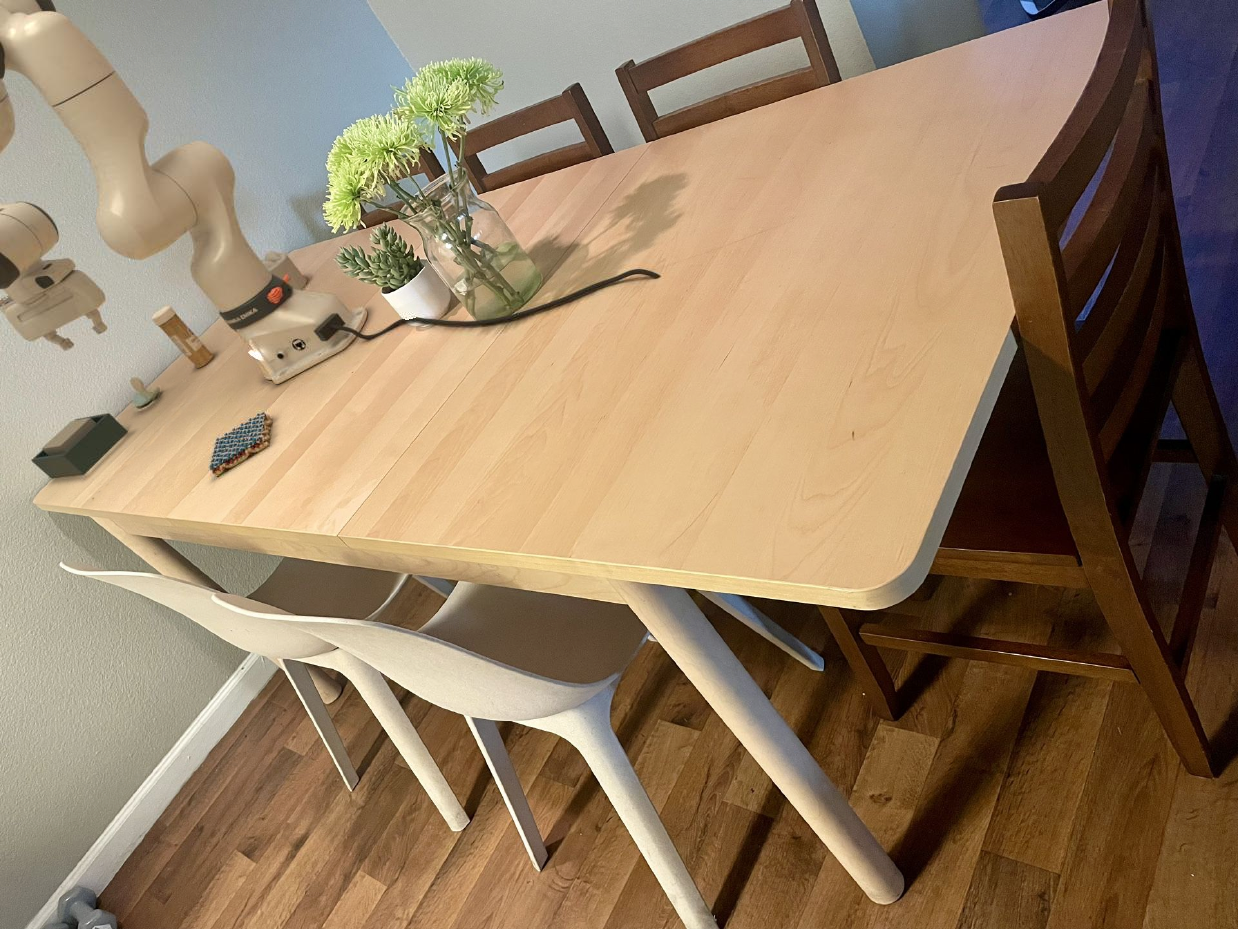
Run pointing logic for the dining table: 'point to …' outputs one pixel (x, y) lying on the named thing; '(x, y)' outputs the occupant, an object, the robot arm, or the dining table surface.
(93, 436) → the crate
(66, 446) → the block
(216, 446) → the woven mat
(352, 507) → the dining table surface
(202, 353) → the sprinkles bottle
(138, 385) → the pacifier
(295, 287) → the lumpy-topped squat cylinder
